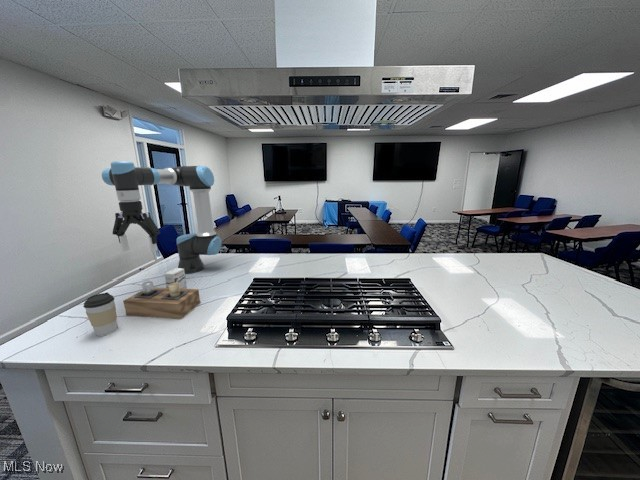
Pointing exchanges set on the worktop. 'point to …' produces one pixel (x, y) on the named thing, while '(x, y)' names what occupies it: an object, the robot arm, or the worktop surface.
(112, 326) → the coffee cup
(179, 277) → the ink box
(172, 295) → the birch dowel
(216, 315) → the worktop surface
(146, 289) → the steel pin
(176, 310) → the walnut block
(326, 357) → the worktop surface
